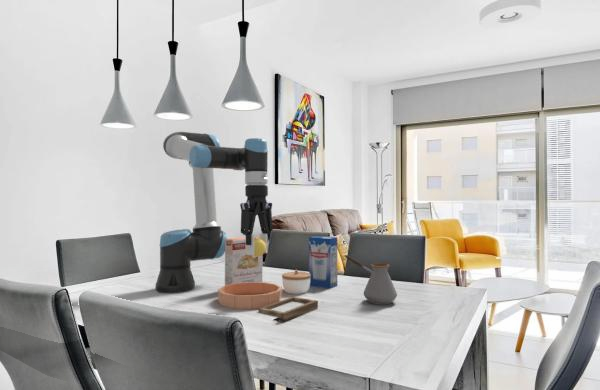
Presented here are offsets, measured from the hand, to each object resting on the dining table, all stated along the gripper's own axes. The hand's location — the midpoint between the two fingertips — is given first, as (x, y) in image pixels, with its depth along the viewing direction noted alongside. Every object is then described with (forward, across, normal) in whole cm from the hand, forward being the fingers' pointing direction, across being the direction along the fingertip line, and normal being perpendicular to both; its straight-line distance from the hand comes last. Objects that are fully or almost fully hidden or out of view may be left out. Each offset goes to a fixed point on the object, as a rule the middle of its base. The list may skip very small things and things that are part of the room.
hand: (257, 253), depth 136 cm
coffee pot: (+18, +30, -26) cm, 43 cm away
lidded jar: (+18, +20, -1) cm, 27 cm away
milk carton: (+18, +39, -1) cm, 43 cm away
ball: (+1, 0, 0) cm, 1 cm away
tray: (+18, 0, -13) cm, 22 cm away
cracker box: (+17, +12, +18) cm, 28 cm away
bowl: (+18, 0, +4) cm, 18 cm away
